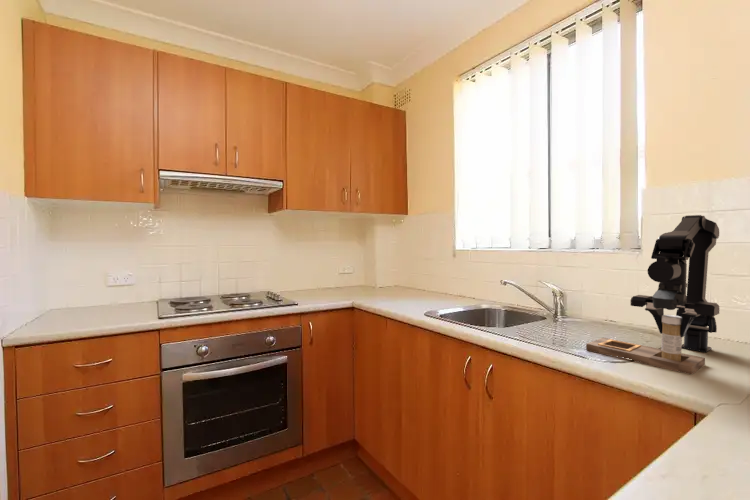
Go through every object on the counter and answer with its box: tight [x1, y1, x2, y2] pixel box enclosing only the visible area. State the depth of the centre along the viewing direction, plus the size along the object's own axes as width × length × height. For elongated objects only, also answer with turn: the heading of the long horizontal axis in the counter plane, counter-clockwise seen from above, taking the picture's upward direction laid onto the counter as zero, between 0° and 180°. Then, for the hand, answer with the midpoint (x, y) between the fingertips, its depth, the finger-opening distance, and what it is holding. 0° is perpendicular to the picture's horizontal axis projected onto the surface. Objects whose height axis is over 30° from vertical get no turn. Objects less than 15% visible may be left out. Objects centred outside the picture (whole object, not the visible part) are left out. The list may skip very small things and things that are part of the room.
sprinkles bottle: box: [660, 314, 683, 362], centre depth 104 cm, size 5×5×13 cm
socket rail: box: [585, 337, 706, 375], centre depth 110 cm, size 12×26×2 cm, turn 36°
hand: (671, 335), depth 104 cm, fingers closed on sprinkles bottle, 4 cm apart
